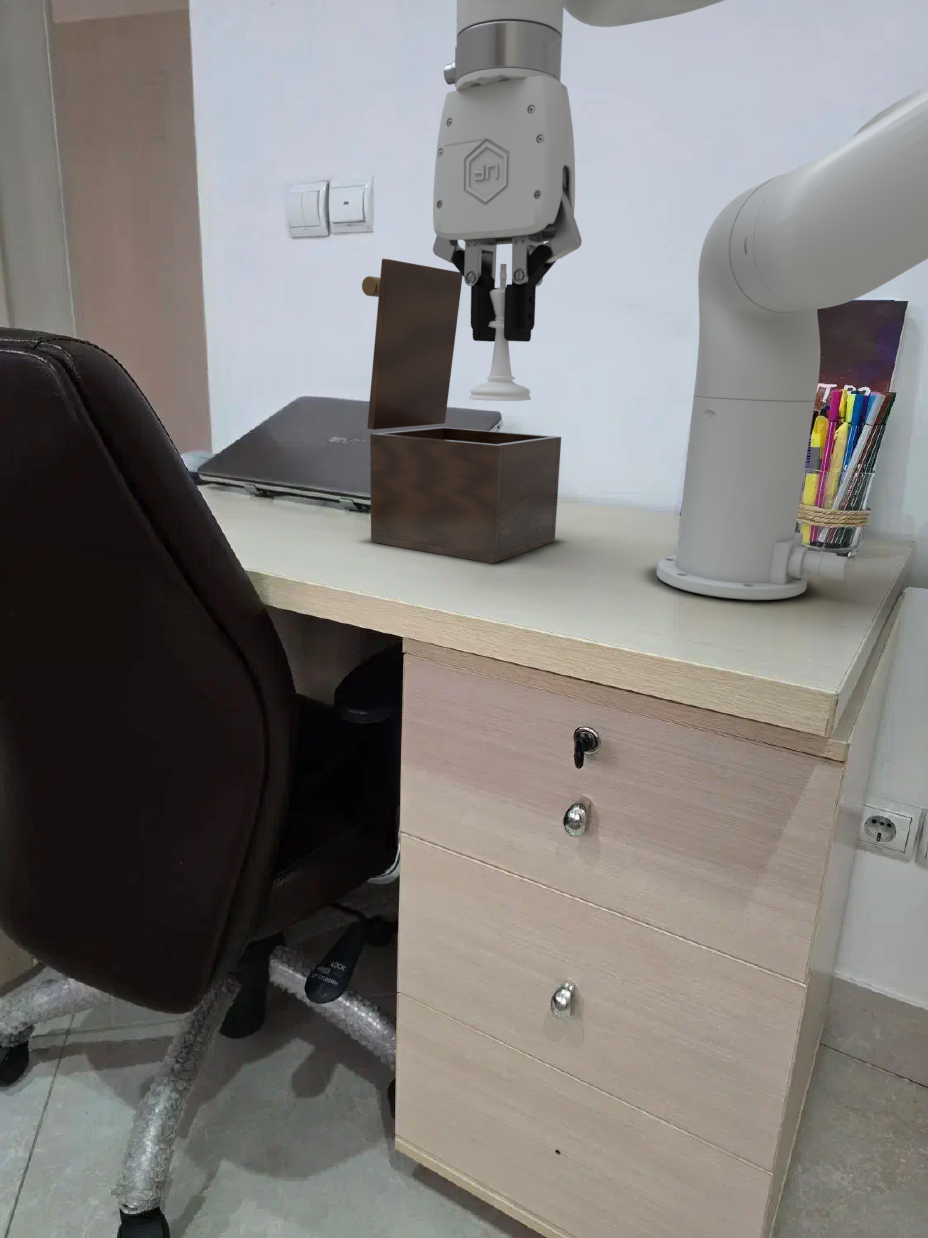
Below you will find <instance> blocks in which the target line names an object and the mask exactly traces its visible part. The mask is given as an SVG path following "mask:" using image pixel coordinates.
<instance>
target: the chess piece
mask: <svg viewBox="0 0 928 1238" xmlns="http://www.w3.org/2000/svg"><path fill="white" fill-rule="evenodd" d="M499 267H500V269H499V270H500V271H499V287H496V288H497V289H494V290H492V291H491V292H490V297H491V300H492V303H493V307H494V312H495V315H496V318H495V320H496V321H492V322H489V323H490V324H489V325H488V326H489V327H493V328H496V336H495V342H494V344H493V345H494V346H493V353H492V359H491V367H490V372H489V376H486V377H485V379H487V381H486V382H484V383H482V384H479V385H476V386H474V387H472V388H471V389H470V396H469V400H473V401H474V400H475V401H492V402H493V401H497V402H498V401H499V402H502V401H503V402H519V401H531V400H532V398H531V396H530V394H531V390H530V389H529V388H527V387H526V386H523V385H521V384H518V383H516V382H515V381H514V380H515V379H516V377H514V376H513V375H512V367H511V357H510V346H509V345H510V344H509V341H507V340H506V339H505V338H504V308H505V288H506V287H507V280H508V279H507V277H508V276H507V275H508V274H507V263H500V266H499Z"/></svg>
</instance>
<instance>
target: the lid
mask: <svg viewBox="0 0 928 1238" xmlns="http://www.w3.org/2000/svg"><path fill="white" fill-rule="evenodd" d="M463 278H464V277H463V275H462V274H461V273H460V272H459V271H455V270H450V269H444V268H439V267H433V266H427V265H424V264H423V265H422V264H417V263H411V262H405V261H401V260H394V259H390V258H381V267H380V276H379V277H377V276H371V275H368V276H366V277H364V279H363V280H362V282H361V289H362V293H364V295H366V296H368V297H374V298H378V300H377V312H376V324H375V335H374V345H373V355H372V356H373V358H372V367H371V371H372V372H371V379H370V380H371V382H370V391H369V392H370V393H369V406H368V413H367V414H368V415H367V429H369V430H373V431H374V430H384V429H396V428H409V427H419V426H431V425H442V424H445V423H446V419H447V418H446V417H447V409H448V401H449V392H450V386H451V385H450V384H451V377H452V368H453V359H454V353H455V352H454V351H455V342H456V336H457V327H458V318H459V309H460V301H461V295H462V294H461V292H462V284H463Z"/></svg>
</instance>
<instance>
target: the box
mask: <svg viewBox="0 0 928 1238" xmlns="http://www.w3.org/2000/svg"><path fill="white" fill-rule="evenodd" d="M369 436H370V437H369V438H370V439H369V441H370V443H369V444H370V449H369V450H370V452H369V453H370V455H369V457H370V460H369V461H370V542H371V543H375V544H380V545H386V546H393V547H398V548H403V549H410V550H414V551H415V550H416V551H420V552H426V553H431V554H437V555H443V556H448V557H449V556H450V557H455V558H461V559H466V560H471V561H477V562H483V563H488V564H496V563H499V562H502V561H505V560H508V559H511V558H513V557H517V556H519V555H521V554H524V553H527V552H529V551H532V550H535V549H538V548H541V547H544V546H546V545H548V544H552V543H554V542H556V527H557V514H558V513H557V512H558V499H559V498H558V496H559V481H560V465H561V464H560V463H561V449H562V436H555V435H544V434H530V433H520V432H519V433H518V432H506V431H495V430H482V429H471V428H460V427H459V428H458V427H445V426H441V427H440V426H439V427H428V428H419V429H406V430H396V431H387V432H386V431H385V432H376V433H370V435H369Z"/></svg>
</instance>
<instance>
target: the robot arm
mask: <svg viewBox="0 0 928 1238" xmlns="http://www.w3.org/2000/svg"><path fill="white" fill-rule="evenodd" d="M724 1H725V0H456V45H455V48H454V50H455V51H454V56H455V57H454V60H453V61H452V62H450V63H446V64H445V65H444V68H443V77H444V78H443V79H444V80H445V83H446V84H447V85H448V86H451V85H454V87H455V90H452V91H449V92H447V93H446V94H445V99H444V103H443V108H442V112H441V117H440V123H439V129H438V137H437V144H436V153H435V164H434V165H435V166H434V177H433V178H434V179H433V197H432V198H433V200H432V201H433V202H432V222H433V223H432V225H433V230H434V234H436V237H435V240H434V243H433V246H432V252H433V254H434V255H435V256H437V257H438V258H440V259H442V260H444V261H446V262H447V263H451V264H453V266H454V267H455V268H456V269H457V270H458V272H460V273H461V274H462V275H463V277H462V278H463V280H464V283H465V284H466V286H468V287H470V328H471V330H472V339H473V341H474V342H489V343H490V342H491V343H492V342H494V343H495V336H496V328H493V327H489V326H488V325H489V324H490V323H489V322H492V321H496V320H495V318H496V315H495V312H494V307H493V303H492V300H491V297H490V292H491V291H492V290H494V289H497V288H498V287H496V273H497V270H496V269H497V250H498V249H497V248H498V247H497V246H498V245H500V246H501V245H511V249H512V250H511V283H506V288H505V308H504V338H505V339H506V340H507V341H508V342H525V343H526V342H530V341H531V340H532V339H531V338H532V331H533V330H534V328H535V324H536V323H535V322H536V321H535V320H536V319H535V318H536V292H537V291H536V290H537V287H539V286H541V285H542V283H543V279H544V277H545V275H546V274H547V273H548V272H549V270H550V269H551V268H552V267H553V266H554V265H555V263H557V261H558V260H559V259H562V258H564V257H566V256H568V255H569V254H571V253H573V252H575V251H577V250H578V249H579V248H580V247H581V245H582V242H583V240H582V236H581V233H580V230H579V227H578V224H577V220H576V218H575V206H576V205H575V204H576V157H575V156H576V155H575V138H574V128H573V127H574V126H573V118H572V110H571V104H570V96H569V92H568V87H567V86H566V85H565V84H563V83H562V82H561V77H562V55H563V53H562V52H563V50H562V49H563V31H564V10H565V11H566V12H567V13H568V14H569V15H570V16H571V17H572V18H574V19H575V20H577V21H579V22H580V23H582V24H585V25H588V26H591V27H599V28H614V27H615V28H616V27H620V26H621V27H622V26H627V25H632V24H638V23H643V22H649V21H654V20H660V19H666V18H670V17H675V16H679V15H683V14H686V13H691V12H694V11H698V10H701V9H703V8H707V7H710V6H713V5H716V4H719V3H722V2H724ZM459 241H463V242H464V248H463V247H461V246H460V244H459ZM926 260H928V85H926V86H924V87H923V88H921V89H919V90H917V91H914V92H913V93H910V94H909V95H907V96H905V97H903V98H901V99H899V100H898V101H895V102H894V103H893V104H890V105H889V106H887V107H886V108H884V109H883V110H881V111H880V112H878V113H876V115H874V116H873V117H871V119H869V120H868V121H867V122H866V123H865V124H863V125H862V126H861V127H860V128H859V129H858V130H857V132H855V133H854V134H853V136H851V137H850V138H849V139H847V140H844V142H842V143H840V144H838V145H837V146H835V147H833V148H831V149H830V150H828V151H826V152H825V153H823V154H821V155H819V156H817V157H816V158H814V159H812V160H810V161H808V162H806V163H804V164H801V166H798V167H795V168H794V169H791V170H789V171H787V172H785V173H782V174H779V175H777V176H775V177H773V178H772V177H771V178H770V179H768V180H765V181H764V182H761V183H759V184H757V185H755V186H753V187H750V188H749V189H747V190H745V191H744V192H742V193H740V194H739V195H738V196H736V197H735V198H733V199H732V200H731V201H730V202H728V204H727V205H726V206H725V207H723V209H722V210H721V211H720V212H719V214H718V215H717V216H716V218H715V219H714V220H713V222H712V224H711V225H710V227H709V229H708V230H707V232H706V236H705V238H704V240H703V244H702V248H701V251H700V255H699V261H698V277H697V279H698V282H697V283H698V284H697V285H698V286H697V287H698V318H699V321H698V326H699V327H698V328H699V329H698V331H699V332H698V349H697V360H696V361H697V362H696V370H695V381H694V391H693V396H692V405H691V406H692V407H691V416H690V425H689V433H688V442H687V443H688V444H687V451H686V453H687V454H686V461H685V470H684V471H685V472H684V480H683V489H682V491H683V492H682V499H681V507H680V516H679V527H678V536H677V544H676V553H675V554H673V555H669V556H665V557H663V558H661V559H659V560H658V562H657V563H656V574H655V575H656V576H657V577H658V579H659V580H660V581H662V582H663V583H665V584H667V585H669V586H671V587H674V588H677V589H680V590H682V591H686V592H690V593H695V594H699V595H705V596H710V597H717V598H722V599H735V600H748V601H749V600H750V601H770V600H783V599H789V598H793V597H797V596H799V595H801V594H804V593H805V592H806V590H807V587H808V576H807V575H811V576H817V577H819V578H820V579H821V578H822V579H828V580H835V581H841V582H843V581H845V578H846V574H847V569H848V564H849V558H848V556H841V555H838V554H837V552H829V551H824V550H823V551H822V550H820V551H817V550H810V549H809V548H808V546H804V545H803V540H804V533H802V532H796V528H797V521H798V515H799V509H800V503H801V495H802V489H803V481H804V476H805V470H806V462H807V456H808V449H809V442H810V436H811V429H812V423H813V418H814V417H813V416H814V410H815V404H816V400H817V392H818V386H819V378H820V369H821V367H820V366H821V337H820V325H819V318H818V316H819V315H818V310H819V309H826V308H830V307H831V308H832V307H836V306H840V305H843V304H846V303H849V302H852V301H854V300H856V299H859V298H860V297H863V296H866V294H868V293H871V292H873V291H874V290H876V289H878V288H880V287H881V286H883V285H885V284H888V283H889V282H890V281H892V280H894V279H896V278H897V277H899V276H901V275H902V274H904V273H906V272H907V271H909V270H911V269H912V268H915V267H916V266H917V265H919V264H921V263H923V262H924V261H926Z"/></svg>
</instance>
